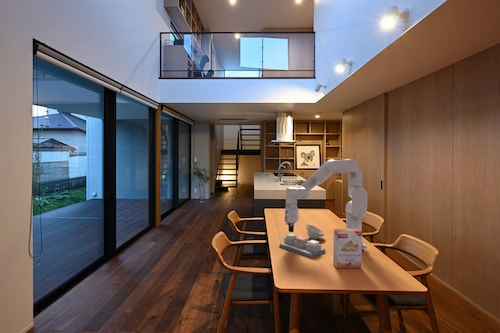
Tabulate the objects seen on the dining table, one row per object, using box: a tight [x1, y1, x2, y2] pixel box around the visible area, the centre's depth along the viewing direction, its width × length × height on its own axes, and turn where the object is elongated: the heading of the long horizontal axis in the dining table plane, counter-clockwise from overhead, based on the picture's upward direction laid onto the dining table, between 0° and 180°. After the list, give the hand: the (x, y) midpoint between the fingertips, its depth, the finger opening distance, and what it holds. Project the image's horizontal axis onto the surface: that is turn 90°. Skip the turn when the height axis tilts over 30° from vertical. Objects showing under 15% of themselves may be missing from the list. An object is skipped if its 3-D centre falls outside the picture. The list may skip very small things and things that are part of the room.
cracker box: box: [332, 228, 363, 269], centre depth 143 cm, size 14×6×21 cm, turn 93°
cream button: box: [307, 239, 320, 247], centre depth 162 cm, size 5×5×3 cm
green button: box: [285, 232, 297, 240], centre depth 176 cm, size 5×5×3 cm
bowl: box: [305, 224, 325, 240], centre depth 191 cm, size 15×14×10 cm
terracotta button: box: [296, 236, 308, 243], centre depth 169 cm, size 5×5×3 cm
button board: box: [279, 236, 326, 259], centre depth 169 cm, size 26×15×6 cm, turn 41°
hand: (291, 231), depth 176 cm, fingers closed
